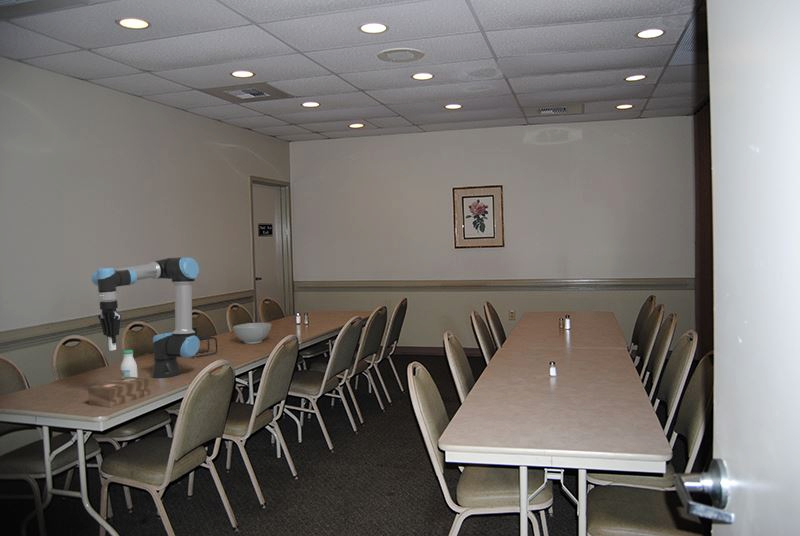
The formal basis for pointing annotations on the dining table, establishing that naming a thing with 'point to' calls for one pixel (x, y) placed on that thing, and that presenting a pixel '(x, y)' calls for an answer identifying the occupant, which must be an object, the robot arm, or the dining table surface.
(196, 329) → the dark open wire frame
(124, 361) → the milk bottle
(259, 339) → the decorative bowl
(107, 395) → the walnut block
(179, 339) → the robot arm
